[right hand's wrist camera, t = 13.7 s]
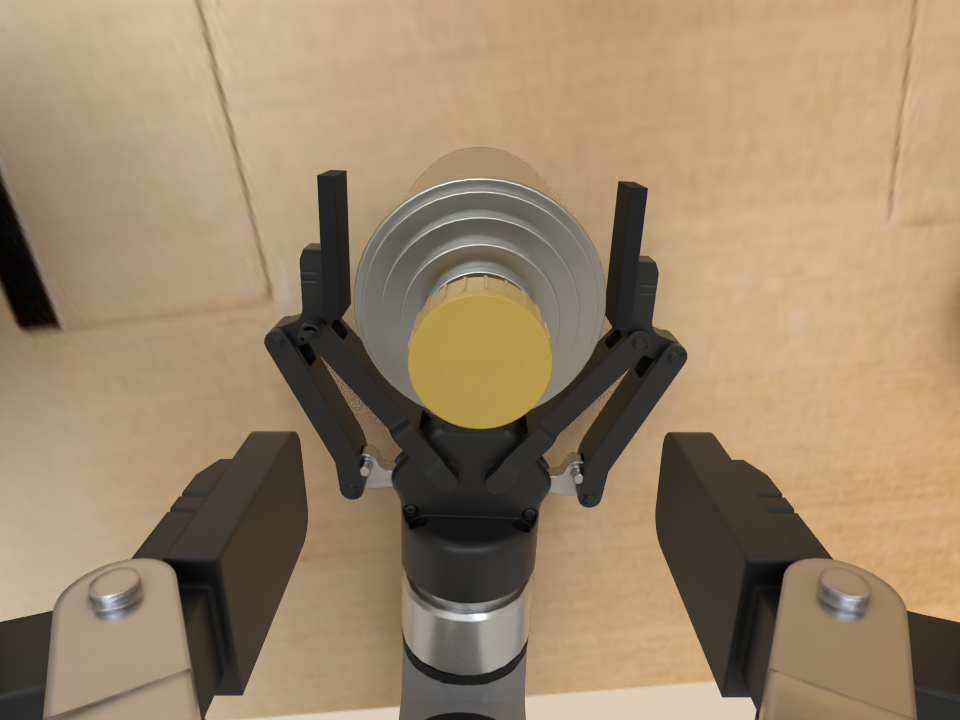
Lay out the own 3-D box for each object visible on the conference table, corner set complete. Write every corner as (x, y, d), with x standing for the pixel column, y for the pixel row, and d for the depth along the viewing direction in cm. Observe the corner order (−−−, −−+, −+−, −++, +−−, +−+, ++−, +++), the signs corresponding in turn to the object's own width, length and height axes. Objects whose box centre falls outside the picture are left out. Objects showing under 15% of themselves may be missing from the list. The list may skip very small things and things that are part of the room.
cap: (567, 298, 18) (576, 318, 16) (522, 417, 20) (526, 447, 18) (434, 256, 18) (429, 272, 16) (397, 380, 19) (389, 408, 17)
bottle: (576, 175, 36) (691, 256, 16) (526, 315, 39) (573, 527, 19) (428, 126, 35) (363, 149, 15) (388, 273, 38) (290, 450, 18)
